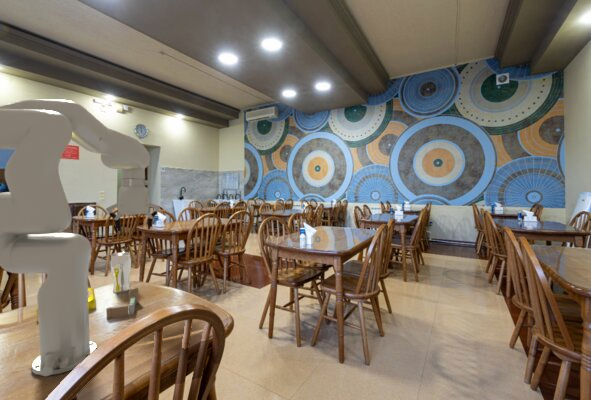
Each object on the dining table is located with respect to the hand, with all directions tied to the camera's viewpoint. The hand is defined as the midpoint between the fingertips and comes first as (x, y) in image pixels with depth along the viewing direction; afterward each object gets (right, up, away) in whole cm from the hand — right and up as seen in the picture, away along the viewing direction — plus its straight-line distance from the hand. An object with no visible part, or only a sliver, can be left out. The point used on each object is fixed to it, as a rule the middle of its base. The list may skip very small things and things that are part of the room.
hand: (134, 229), depth 105 cm
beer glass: (-11, -26, +10) cm, 30 cm away
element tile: (-19, -27, -7) cm, 34 cm away
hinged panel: (+4, -26, -7) cm, 27 cm away
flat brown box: (+7, -27, -9) cm, 29 cm away
